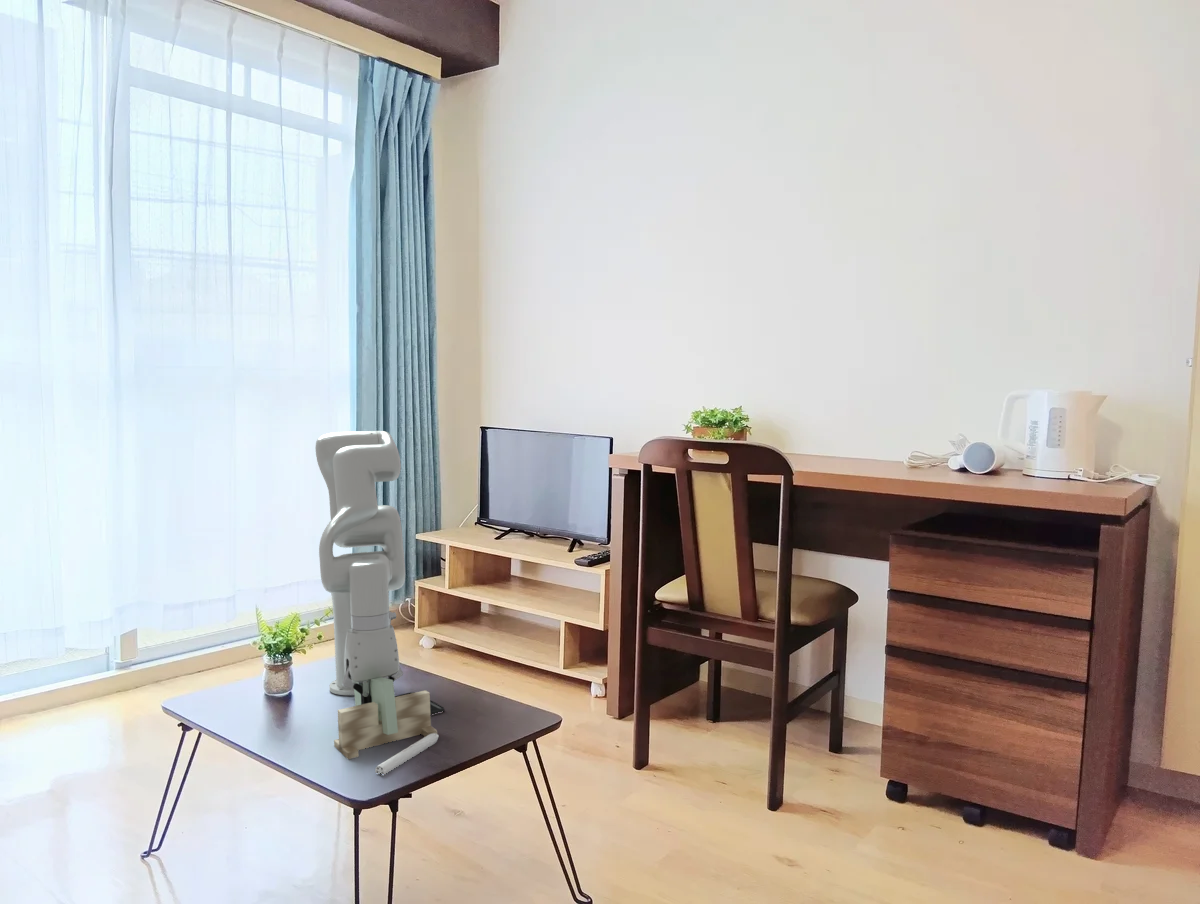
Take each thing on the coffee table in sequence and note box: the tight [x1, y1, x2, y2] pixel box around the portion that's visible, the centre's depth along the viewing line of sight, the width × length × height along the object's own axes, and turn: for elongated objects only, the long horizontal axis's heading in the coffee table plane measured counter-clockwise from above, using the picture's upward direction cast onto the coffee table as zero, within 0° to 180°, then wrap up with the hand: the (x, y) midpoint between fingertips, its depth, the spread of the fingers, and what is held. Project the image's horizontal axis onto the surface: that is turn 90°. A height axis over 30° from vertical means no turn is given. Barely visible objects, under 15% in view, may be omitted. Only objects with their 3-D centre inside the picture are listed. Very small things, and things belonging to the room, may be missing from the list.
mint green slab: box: [353, 677, 398, 735], centre depth 175 cm, size 18×2×10 cm, turn 34°
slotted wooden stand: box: [333, 690, 438, 760], centre depth 171 cm, size 18×8×8 cm, turn 125°
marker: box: [374, 733, 439, 775], centre depth 163 cm, size 18×2×2 cm, turn 156°
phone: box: [395, 691, 445, 715], centre depth 190 cm, size 8×1×15 cm
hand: (374, 711), depth 175 cm, fingers closed on mint green slab, 2 cm apart
